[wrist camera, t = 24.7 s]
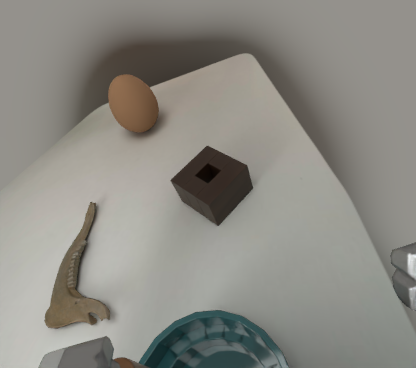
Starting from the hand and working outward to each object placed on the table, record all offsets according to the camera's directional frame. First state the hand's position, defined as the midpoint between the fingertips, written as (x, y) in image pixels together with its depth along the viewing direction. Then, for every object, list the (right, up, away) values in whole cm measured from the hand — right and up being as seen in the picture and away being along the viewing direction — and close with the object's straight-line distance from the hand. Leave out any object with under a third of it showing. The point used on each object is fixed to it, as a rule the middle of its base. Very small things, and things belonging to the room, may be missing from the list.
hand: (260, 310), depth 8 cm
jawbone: (-17, -7, +35) cm, 40 cm away
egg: (-13, +14, +52) cm, 55 cm away
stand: (0, +2, +37) cm, 37 cm away
